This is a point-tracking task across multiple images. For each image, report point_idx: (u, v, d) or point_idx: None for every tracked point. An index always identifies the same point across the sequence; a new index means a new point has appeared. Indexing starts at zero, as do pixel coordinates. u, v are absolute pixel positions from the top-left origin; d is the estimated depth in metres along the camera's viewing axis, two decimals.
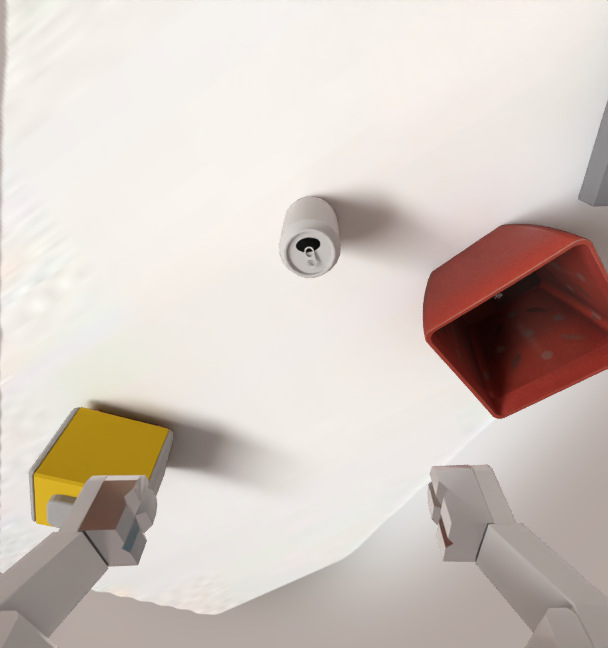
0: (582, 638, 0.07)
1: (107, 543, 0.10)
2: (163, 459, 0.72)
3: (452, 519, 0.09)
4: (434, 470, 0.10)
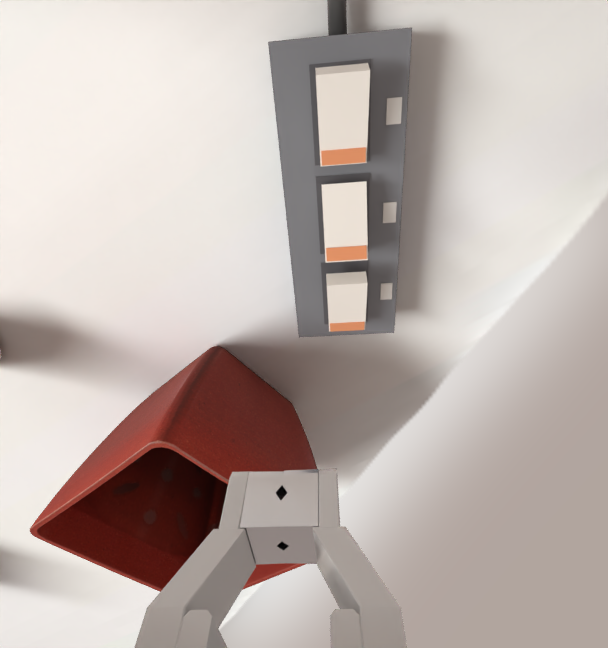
0: (356, 638, 0.07)
1: (264, 540, 0.10)
2: None
3: (281, 522, 0.09)
4: (283, 474, 0.10)
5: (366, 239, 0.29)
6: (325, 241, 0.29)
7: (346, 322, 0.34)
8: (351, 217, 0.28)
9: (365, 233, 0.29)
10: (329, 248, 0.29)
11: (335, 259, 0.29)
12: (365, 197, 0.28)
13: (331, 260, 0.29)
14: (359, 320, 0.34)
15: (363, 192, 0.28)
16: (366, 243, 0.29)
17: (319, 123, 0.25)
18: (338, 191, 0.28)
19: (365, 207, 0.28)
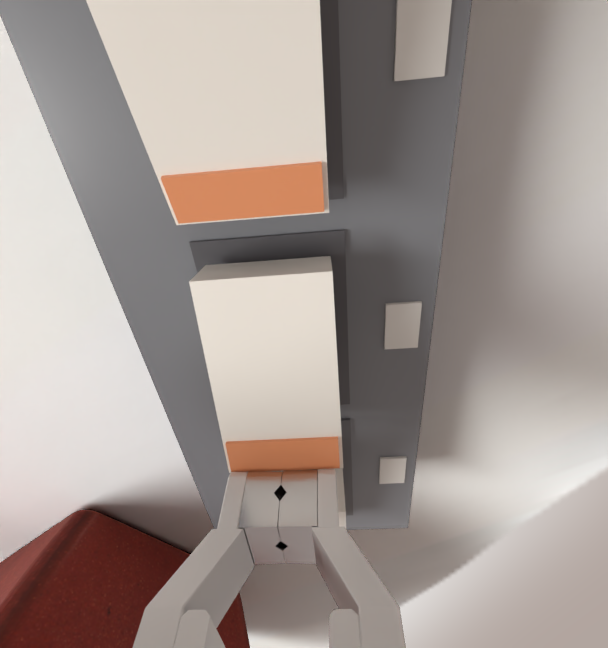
0: (354, 638, 0.07)
1: (263, 540, 0.10)
2: None
3: (280, 522, 0.09)
4: (282, 474, 0.10)
5: (338, 422, 0.10)
6: (222, 426, 0.10)
7: None
8: (291, 370, 0.10)
9: (334, 408, 0.10)
10: (233, 445, 0.10)
11: (255, 469, 0.11)
12: (331, 317, 0.09)
13: (245, 468, 0.11)
14: None
15: (322, 302, 0.09)
16: (338, 431, 0.10)
17: (119, 68, 0.06)
18: (246, 301, 0.09)
19: (332, 344, 0.09)
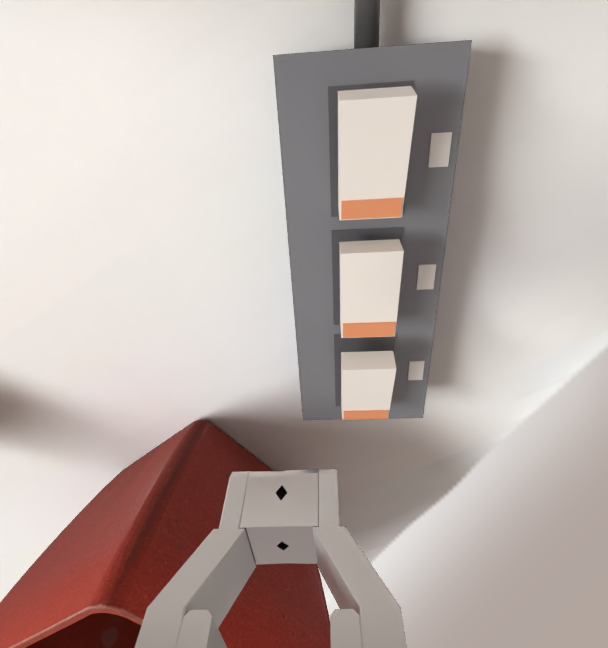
0: (356, 638, 0.07)
1: (264, 540, 0.10)
2: None
3: (281, 522, 0.09)
4: (283, 474, 0.10)
5: (395, 315, 0.22)
6: (342, 316, 0.22)
7: (365, 410, 0.26)
8: (378, 291, 0.21)
9: (395, 309, 0.22)
10: (346, 325, 0.23)
11: (354, 336, 0.23)
12: (400, 269, 0.20)
13: (349, 336, 0.23)
14: (381, 408, 0.26)
15: (397, 263, 0.20)
16: (395, 319, 0.22)
17: (340, 165, 0.18)
18: (364, 262, 0.20)
19: (398, 281, 0.21)
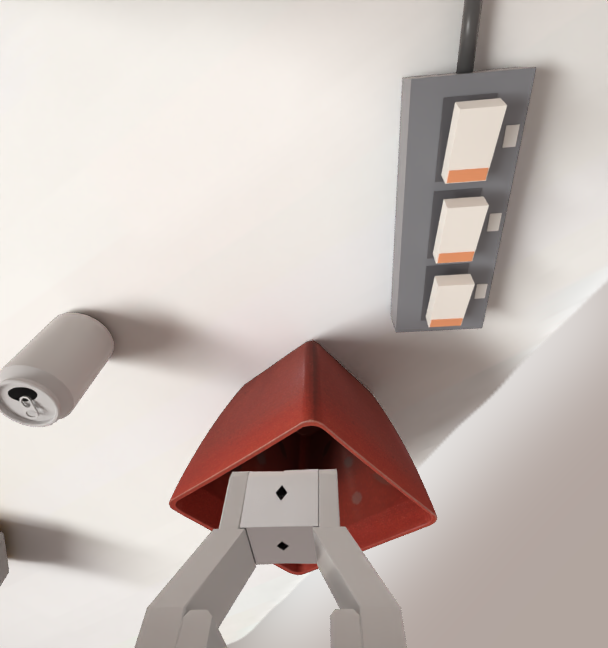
0: (356, 638, 0.07)
1: (264, 540, 0.10)
2: None
3: (281, 522, 0.09)
4: (283, 474, 0.10)
5: (475, 247, 0.34)
6: (440, 249, 0.34)
7: (446, 318, 0.38)
8: (467, 232, 0.33)
9: (475, 243, 0.34)
10: (441, 254, 0.34)
11: (445, 262, 0.35)
12: (484, 217, 0.32)
13: (441, 261, 0.35)
14: (458, 317, 0.38)
15: (483, 213, 0.31)
16: (474, 249, 0.34)
17: (453, 148, 0.29)
18: (461, 213, 0.31)
19: (481, 224, 0.32)
